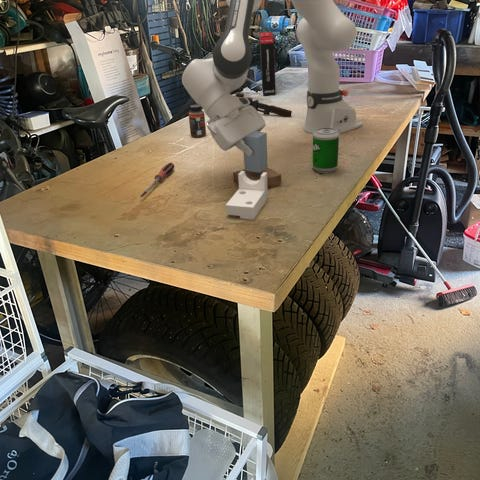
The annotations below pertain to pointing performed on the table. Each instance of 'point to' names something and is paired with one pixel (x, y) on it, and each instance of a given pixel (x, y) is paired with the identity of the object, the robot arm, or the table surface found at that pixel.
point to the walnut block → (272, 177)
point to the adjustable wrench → (267, 107)
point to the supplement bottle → (197, 121)
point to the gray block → (256, 152)
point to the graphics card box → (267, 63)
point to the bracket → (248, 197)
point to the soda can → (325, 150)
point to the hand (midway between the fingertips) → (257, 150)
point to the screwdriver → (161, 176)
